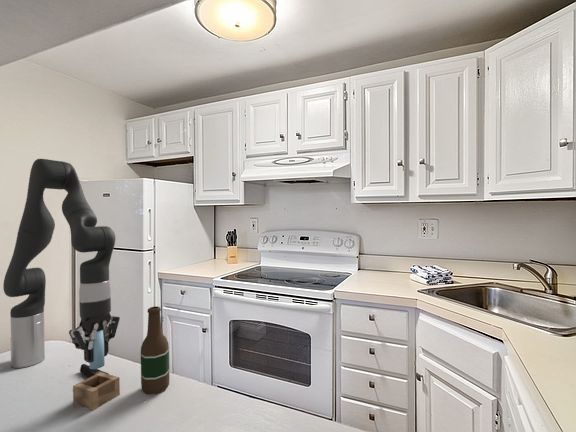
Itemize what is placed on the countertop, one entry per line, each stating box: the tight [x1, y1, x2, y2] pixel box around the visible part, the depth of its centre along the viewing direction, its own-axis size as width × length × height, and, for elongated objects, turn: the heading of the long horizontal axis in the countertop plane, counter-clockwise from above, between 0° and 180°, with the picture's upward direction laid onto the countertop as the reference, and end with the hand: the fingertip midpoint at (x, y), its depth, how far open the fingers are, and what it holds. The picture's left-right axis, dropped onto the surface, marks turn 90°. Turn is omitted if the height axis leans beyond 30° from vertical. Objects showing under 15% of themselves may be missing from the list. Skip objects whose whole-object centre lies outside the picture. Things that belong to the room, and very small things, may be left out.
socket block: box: [72, 372, 121, 411], centre depth 89 cm, size 8×8×5 cm
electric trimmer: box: [79, 363, 109, 379], centre depth 101 cm, size 4×16×3 cm, turn 57°
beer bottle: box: [140, 306, 170, 396], centre depth 94 cm, size 8×8×24 cm
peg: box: [88, 330, 105, 370], centre depth 89 cm, size 4×4×10 cm
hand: (96, 358), depth 89 cm, fingers closed on peg, 3 cm apart
